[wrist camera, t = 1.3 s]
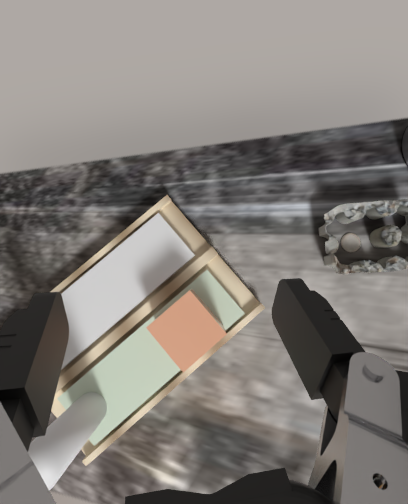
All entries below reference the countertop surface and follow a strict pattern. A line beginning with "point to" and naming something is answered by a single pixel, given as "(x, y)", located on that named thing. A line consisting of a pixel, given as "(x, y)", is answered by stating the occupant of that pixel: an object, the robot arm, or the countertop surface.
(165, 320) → the cube
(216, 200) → the countertop surface
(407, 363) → the countertop surface
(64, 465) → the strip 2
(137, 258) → the strip
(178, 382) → the board
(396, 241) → the egg carton
